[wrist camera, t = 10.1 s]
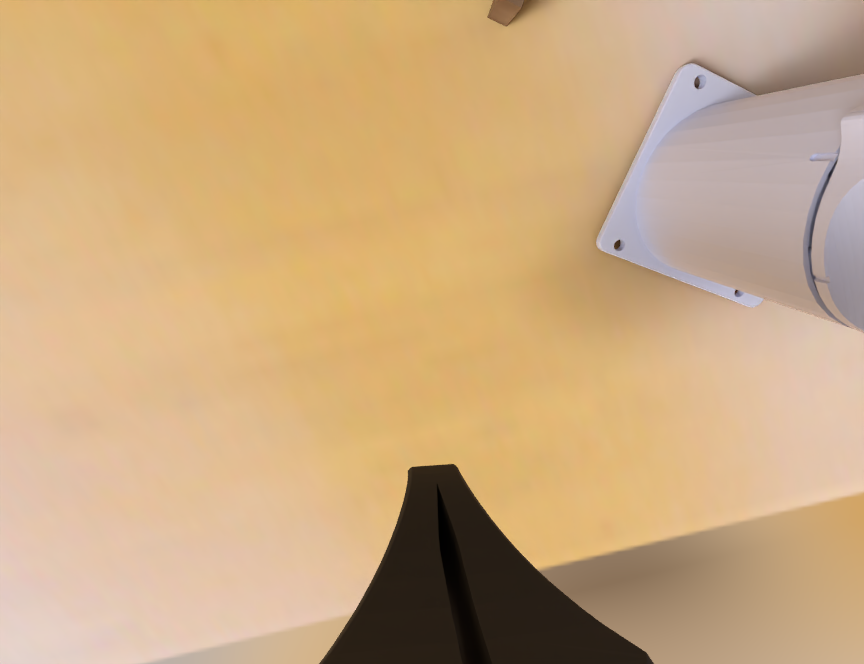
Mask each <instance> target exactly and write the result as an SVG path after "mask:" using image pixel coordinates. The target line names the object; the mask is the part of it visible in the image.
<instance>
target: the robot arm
mask: <svg viewBox="0 0 864 664" xmlns="http://www.w3.org/2000/svg"><path fill="white" fill-rule="evenodd" d="M696 77H698V78H699V80H700V84H699V87H698V88H697V89H696V88H695V86H694V81H695V79H696ZM617 240H620V242H621V244H620V247H619V248H618V249H616V250H615V249H614V244H615V242H616V241H617ZM596 244H597V247H598V249H600V250H601V251H603V252H606V253H609V254H611V255H614V256H617V257H619V258H622V259H624V260H627V261H630V262H632V263H635V264H638V265H640V266H643V267H645V268H648V269H651V270H653V271H656V272H658V273H661V274H664V275H666V276H669V277H672V278H674V279H677V280H679V281H682V282H685V283H687V284H690V285H693V286H695V287H698V288H700V289H703V290H706V291H708V292H711V293H714V294H716V295H719V296H721V297H724V298H727V299H729V300H732V301H735V302H737V303H740V304H742V305H745V306H748V307H756V306H758V305H759V304H760V303H761V302H762V301H763V299H766V300H769V301H772V302H775V303H778V304H781V305H784V306H787V307H790V308H793V309H796V310H799V311H802V312H805V313H808V314H811V315H814V316H817V317H820V318H823V319H826V320H829V321H832V322H835V323H838V324H841V325H844V326H847V327H850V328H854V329H856V330H858V331H861V332H863V333H864V74H859V75H854V76H849V77H845V78H840V79H835V80H830V81H825V82H821V83H816V84H811V85H806V86H801V87H796V88H792V89H787V90H782V91H777V92H772V93H768V94H763V95H758V96H757V95H755V94H753V93H751V92H750V91H748V90H746V89H744V88H742V87H740V86H738V85H736V84H734V83H732V82H730V81H728V80H726V79H724V78H722V77H720V76H719V75H717V74H715V73H713V72H711V71H709V70H707V69H705V68H703V67H701V66H699V65H697V64H694V63H690V64H686V65H683V66H681V67H680V68H679V69H678V70H677V71H676V73H675V74H674V77H673V79H672V81H671V83H670V85H669V87H668V89H667V91H666V93H665V96H664V98H663V100H662V102H661V104H660V106H659V108H658V110H657V112H656V115H655V117H654V119H653V121H652V123H651V125H650V127H649V129H648V131H647V133H646V136H645V138H644V140H643V142H642V144H641V146H640V148H639V150H638V152H637V155H636V157H635V159H634V161H633V163H632V165H631V167H630V169H629V171H628V173H627V176H626V178H625V180H624V182H623V184H622V186H621V188H620V190H619V192H618V195H617V197H616V199H615V201H614V203H613V205H612V207H611V209H610V211H609V214H608V216H607V218H606V220H605V222H604V224H603V226H602V228H601V230H600V232H599V235H598V237H597V240H596ZM735 290H738V292H737V293H736V294H735ZM319 664H654V663H653V662H652V660H651V659H650V658H649V656H648V654H647V653H646V652H645V651H643V650H642V649H640V648H638V647H637V646H635V645H634V644H632V643H631V642H629V641H628V640H626V639H624V638H623V637H621V636H620V635H619V634H617V633H616V632H614V631H613V630H611V629H609V628H608V627H606V626H605V625H603V624H602V623H601V622H599V621H598V620H596V619H595V618H594V617H593V616H591V615H590V614H588V613H587V612H586V611H585V610H583V609H582V608H581V607H579V606H578V605H577V604H576V603H575V602H573V601H572V600H571V599H570V598H569V597H567V596H566V595H565V594H564V593H563V592H561V591H560V590H559V589H558V588H556V586H554V585H553V584H552V583H551V582H549V581H548V580H547V579H546V578H545V577H544V576H543V575H542V574H541V573H540V572H539V571H538V570H537V569H536V568H535V567H534V566H533V565H532V564H531V563H530V562H529V561H528V560H527V559H526V558H525V557H524V556H523V555H522V554H521V553H520V552H519V551H518V550H517V549H516V548H515V547H514V545H513V544H512V543H511V542H510V541H509V540H508V539H507V537H506V536H505V535H504V534H503V533H502V532H501V530H500V529H499V528H498V527H497V526H496V524H495V523H494V522H493V520H492V519H491V518H490V517H489V515H488V514H487V513H486V511H485V510H484V509H483V507H482V506H481V504H480V503H479V502H478V500H477V499H476V497H475V496H474V494H473V493H472V491H471V490H470V488H469V487H468V485H467V484H466V482H465V480H464V479H463V477H462V475H461V473H460V472H459V470H458V468H457V467H456V466H455V465H454V464H448V465H434V466H419V467H411V468H410V469H409V470H408V482H407V488H406V493H405V497H404V501H403V505H402V508H401V511H400V515H399V518H398V521H397V524H396V527H395V529H394V532H393V535H392V537H391V540H390V542H389V545H388V547H387V550H386V552H385V554H384V557H383V559H382V561H381V563H380V565H379V567H378V569H377V571H376V573H375V576H374V578H373V579H372V581H371V583H370V585H369V587H368V589H367V591H366V592H365V594H364V596H363V598H362V600H361V601H360V603H359V605H358V607H357V608H356V610H355V612H354V613H353V615H352V617H351V618H350V620H349V621H348V623H347V624H346V626H345V627H344V629H343V630H342V632H341V633H340V635H339V637H338V638H337V640H336V641H335V643H334V644H333V646H332V647H331V648H330V650H329V651H328V653H327V654H326V655H325V657H324V658H323V659H322V661H321V662H320V663H319Z"/></svg>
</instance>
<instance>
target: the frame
mask: <svg viewBox="0 0 864 664" xmlns="http://www.w3.org/2000/svg"><path fill="white" fill-rule="evenodd" d="M523 2H524V0H493V3H492V6H491V9H490V12H489V15H488V18H490V19H492V20H494V21H496V22H498V23H500V24H502V25H504V26H507V25H508V24H509V23H510V21H511V20H512V19H513V18H514V16H515V15H516V14H517V13H518V11H519V10H520V9H521V8H522V5H523Z"/></svg>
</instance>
